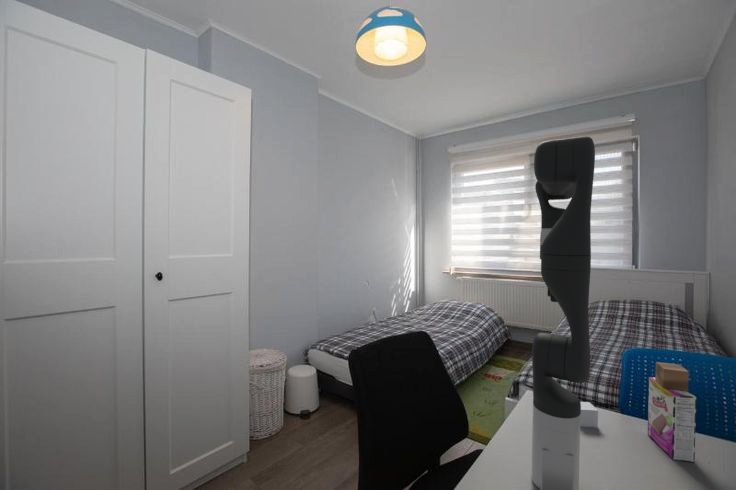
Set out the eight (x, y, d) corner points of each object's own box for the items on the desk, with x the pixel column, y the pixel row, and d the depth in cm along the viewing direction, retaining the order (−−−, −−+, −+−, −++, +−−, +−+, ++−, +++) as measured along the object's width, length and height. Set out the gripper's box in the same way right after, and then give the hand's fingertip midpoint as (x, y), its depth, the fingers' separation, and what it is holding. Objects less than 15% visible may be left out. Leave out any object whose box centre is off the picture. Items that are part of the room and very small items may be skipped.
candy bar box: (645, 434, 97) (647, 376, 96) (666, 436, 96) (668, 377, 95) (672, 460, 86) (674, 394, 85) (695, 463, 85) (698, 396, 84)
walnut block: (688, 391, 87) (688, 371, 87) (663, 388, 89) (663, 368, 89) (678, 383, 92) (679, 364, 91) (655, 380, 93) (655, 361, 93)
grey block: (597, 427, 100) (598, 410, 100) (579, 426, 101) (579, 409, 101) (589, 418, 105) (589, 402, 105) (571, 417, 106) (571, 401, 106)
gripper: (538, 243, 111) (537, 294, 111) (542, 244, 97) (540, 302, 98) (565, 243, 108) (564, 295, 108) (572, 245, 95) (571, 304, 95)
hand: (553, 299), depth 103 cm, fingers open, 8 cm apart
